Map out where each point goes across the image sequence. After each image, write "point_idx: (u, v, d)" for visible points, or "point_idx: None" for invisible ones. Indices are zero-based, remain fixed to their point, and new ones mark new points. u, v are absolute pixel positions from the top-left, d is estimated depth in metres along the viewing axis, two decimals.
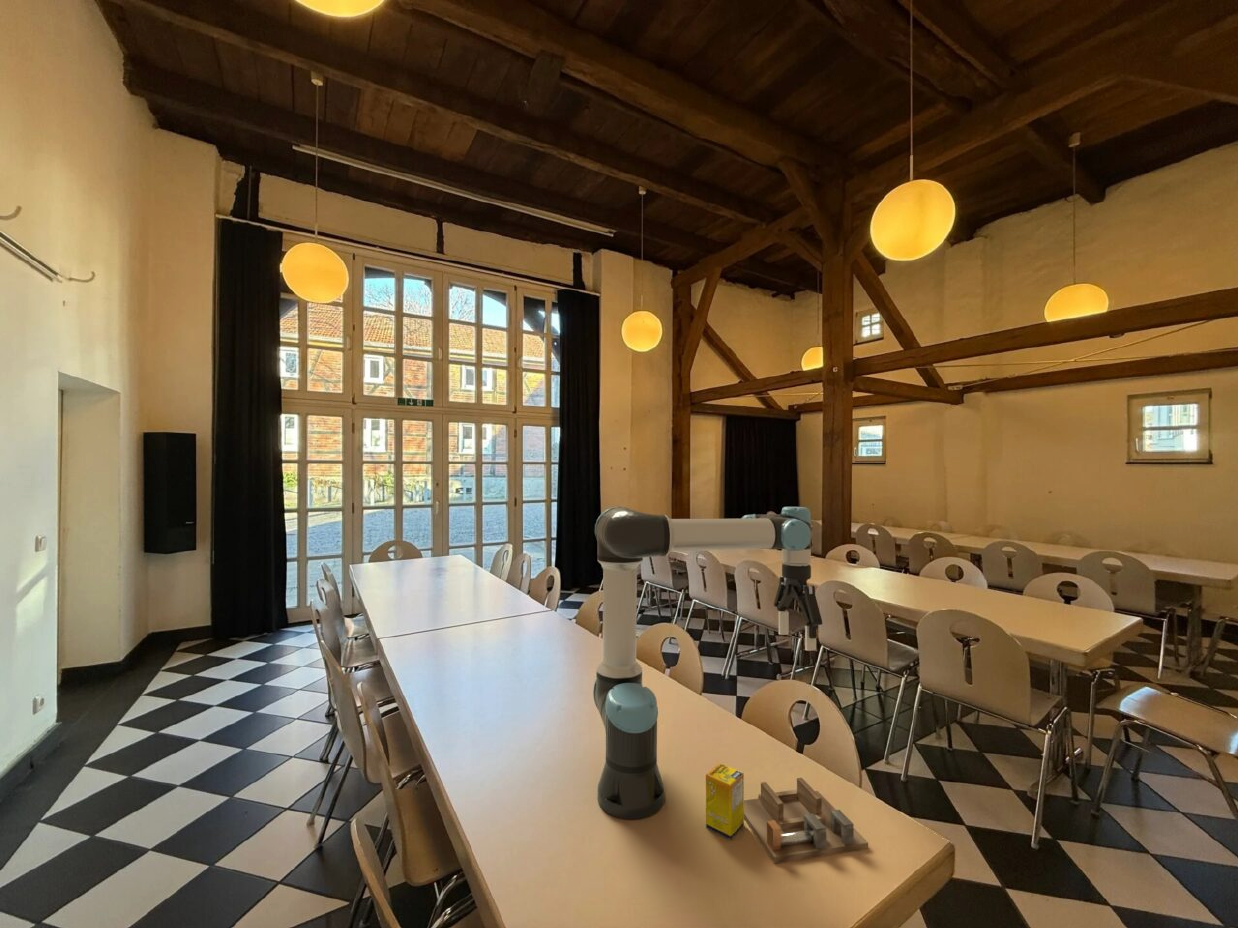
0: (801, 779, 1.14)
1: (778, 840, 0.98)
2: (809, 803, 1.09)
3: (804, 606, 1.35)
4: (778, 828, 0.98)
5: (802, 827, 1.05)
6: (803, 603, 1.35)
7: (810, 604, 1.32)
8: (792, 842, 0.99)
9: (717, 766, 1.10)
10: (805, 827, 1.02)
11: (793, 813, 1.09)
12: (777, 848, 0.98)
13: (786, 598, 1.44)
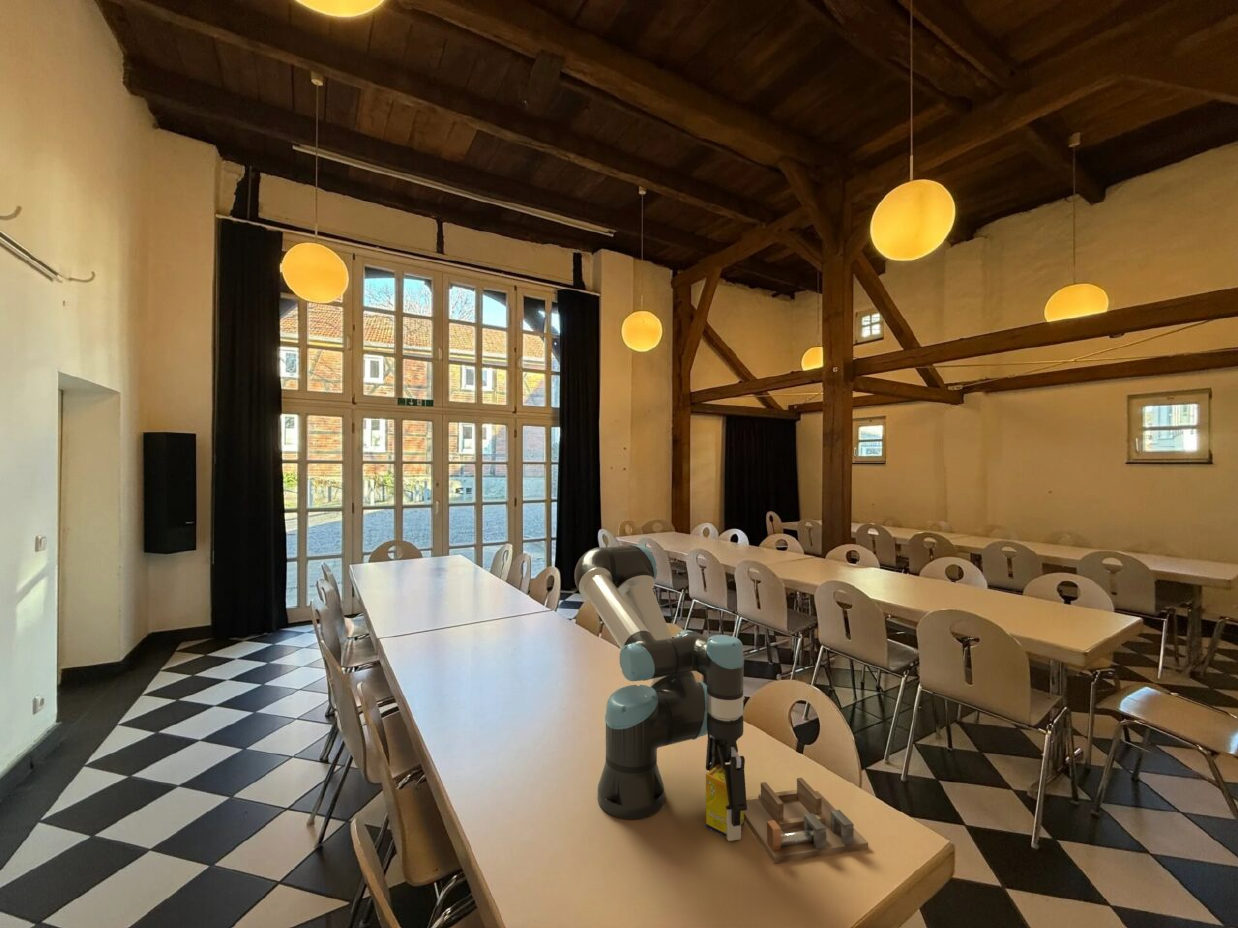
0: (801, 779, 1.14)
1: (778, 840, 0.98)
2: (809, 803, 1.09)
3: (729, 780, 1.03)
4: (778, 828, 0.98)
5: (802, 827, 1.05)
6: (728, 775, 1.03)
7: (735, 783, 1.00)
8: (792, 842, 0.99)
9: (717, 766, 1.10)
10: (805, 827, 1.02)
11: (793, 813, 1.09)
12: (777, 848, 0.98)
13: (716, 759, 1.09)
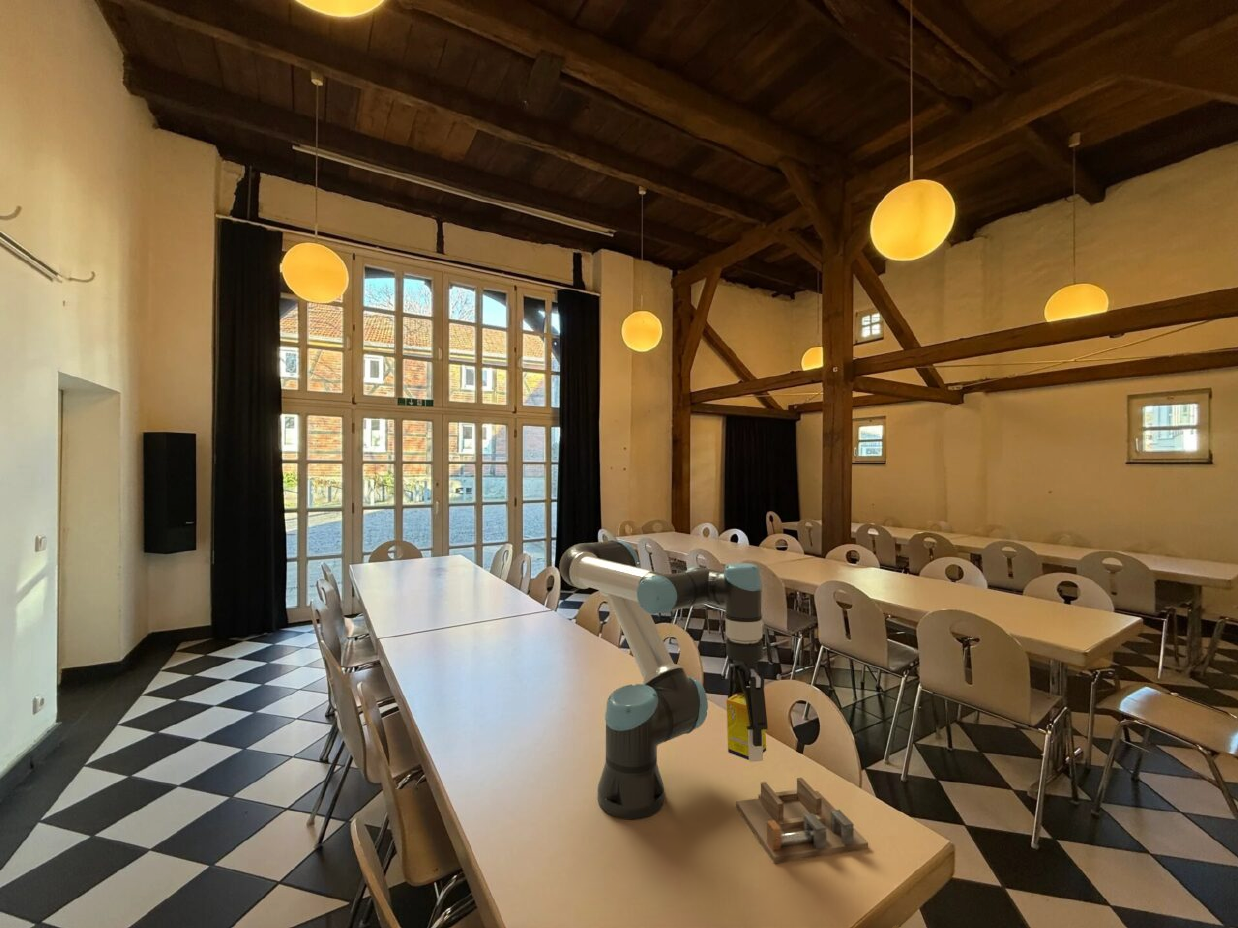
0: (801, 779, 1.14)
1: (778, 840, 0.98)
2: (809, 803, 1.09)
3: (749, 701, 1.03)
4: (778, 828, 0.98)
5: (802, 827, 1.05)
6: (749, 696, 1.04)
7: (755, 702, 1.01)
8: (792, 842, 0.99)
9: (738, 693, 1.10)
10: (805, 827, 1.02)
11: (793, 813, 1.09)
12: (777, 848, 0.98)
13: (737, 687, 1.10)
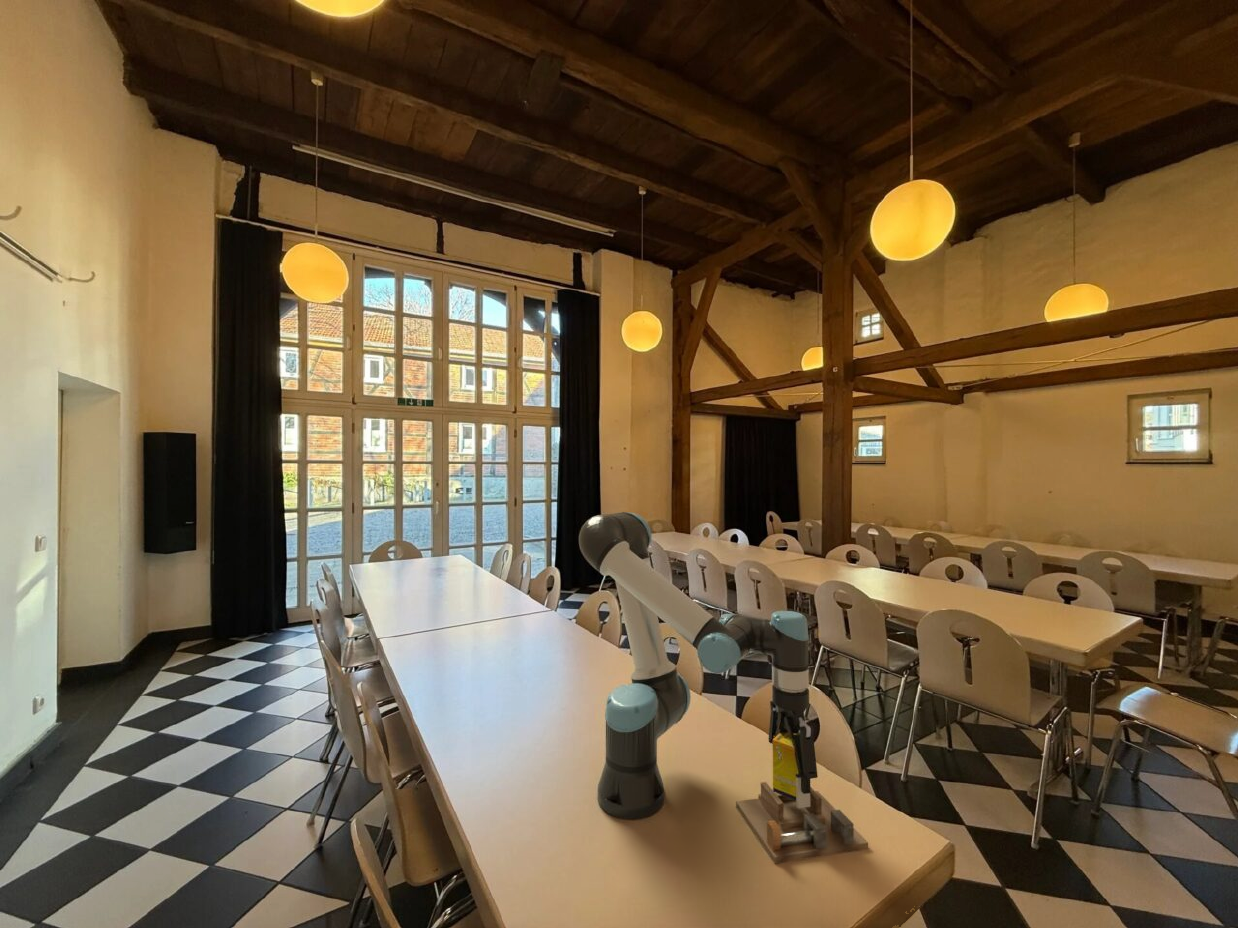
0: None
1: (778, 840, 0.98)
2: None
3: (797, 749, 1.06)
4: (778, 828, 0.98)
5: (802, 827, 1.05)
6: (797, 744, 1.06)
7: (805, 752, 1.03)
8: (792, 842, 0.99)
9: None
10: (805, 827, 1.02)
11: (793, 813, 1.09)
12: (777, 848, 0.98)
13: (781, 731, 1.13)
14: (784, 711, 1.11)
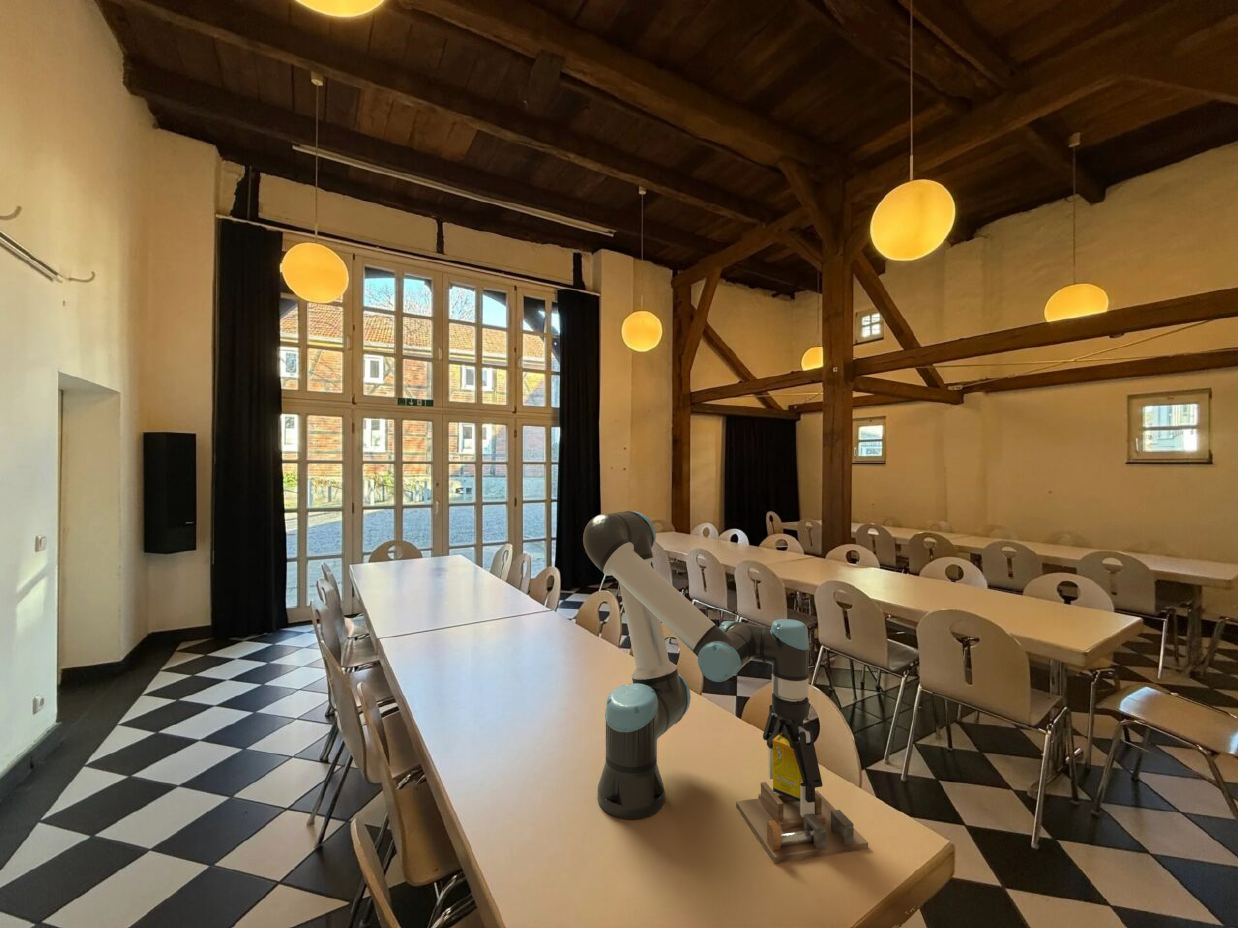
0: None
1: (778, 840, 0.98)
2: None
3: (799, 757, 1.05)
4: (778, 828, 0.98)
5: (802, 827, 1.05)
6: (798, 752, 1.05)
7: (807, 758, 1.02)
8: (792, 842, 0.99)
9: None
10: (805, 827, 1.02)
11: (793, 813, 1.09)
12: (777, 848, 0.98)
13: None
14: (783, 722, 1.11)
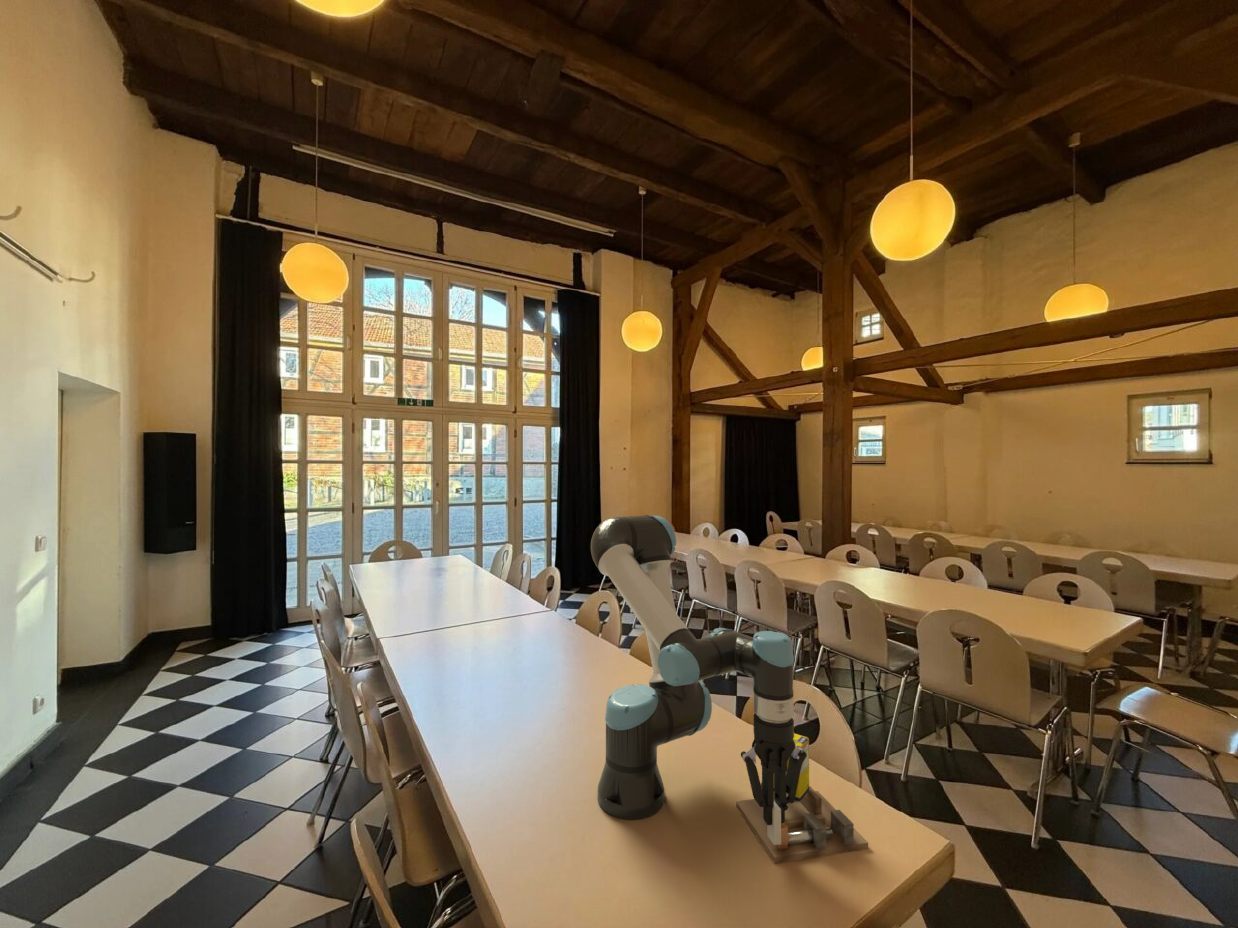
0: None
1: (785, 839, 0.98)
2: (809, 803, 1.09)
3: (762, 777, 1.00)
4: (785, 827, 0.99)
5: (802, 827, 1.05)
6: (762, 772, 1.00)
7: (749, 776, 0.99)
8: (799, 841, 0.99)
9: None
10: (805, 827, 1.02)
11: (793, 813, 1.09)
12: (784, 847, 0.98)
13: (775, 770, 1.00)
14: None
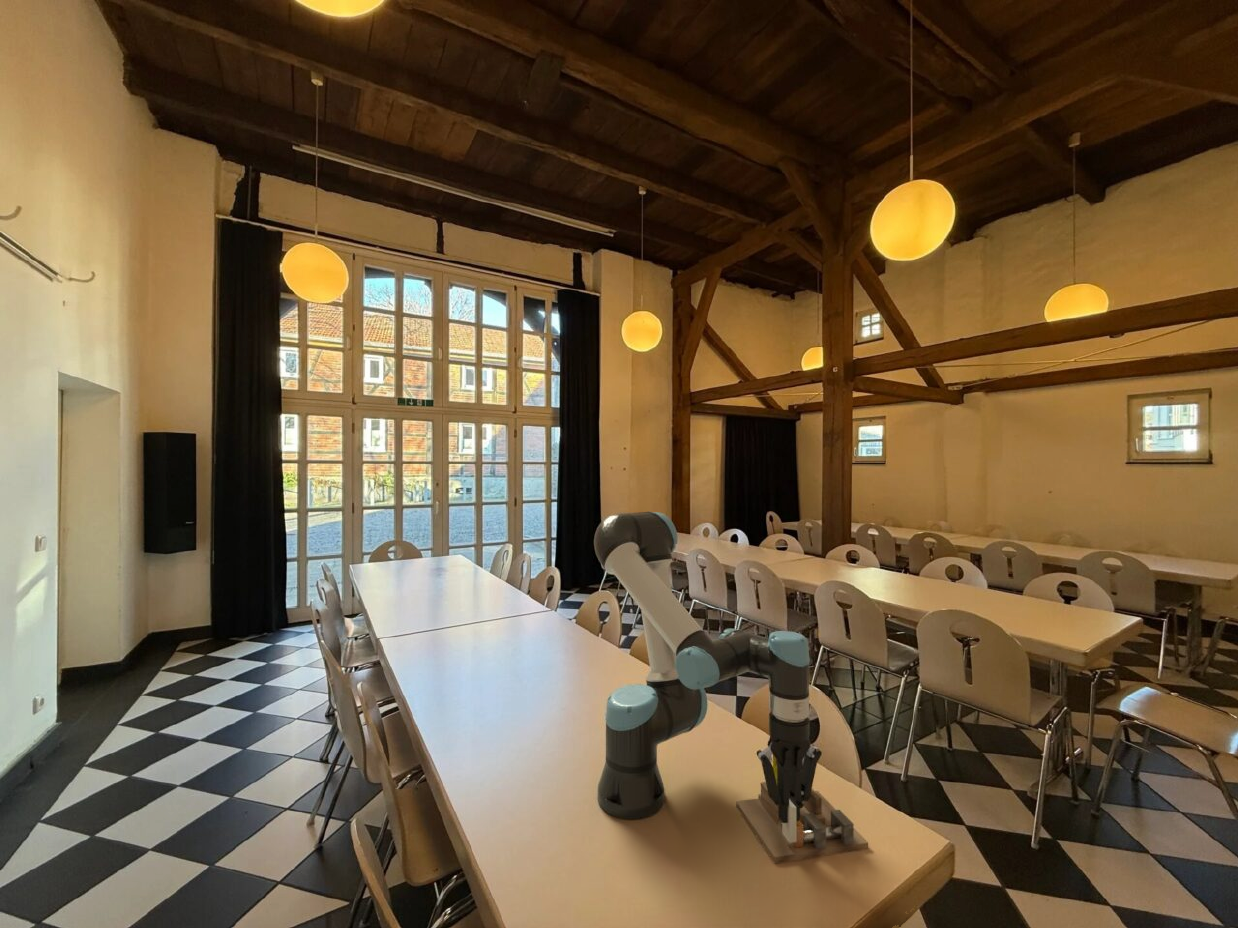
0: None
1: (801, 836, 0.99)
2: (809, 803, 1.09)
3: (778, 775, 1.01)
4: (801, 825, 0.99)
5: None
6: (778, 771, 1.01)
7: (764, 774, 1.00)
8: None
9: None
10: (805, 827, 1.02)
11: None
12: (800, 845, 0.99)
13: None
14: None
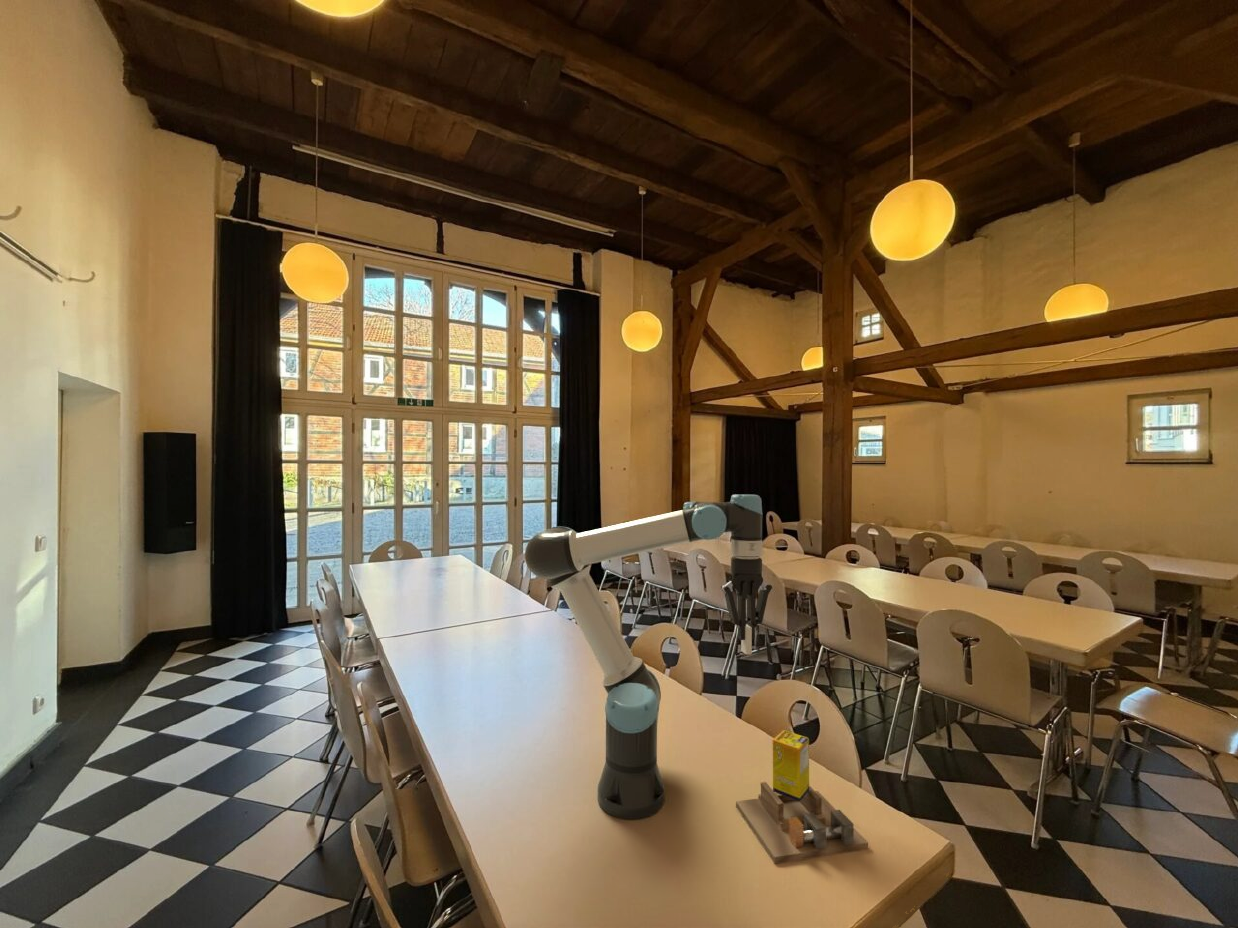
0: None
1: (801, 836, 0.99)
2: (809, 803, 1.09)
3: (737, 604, 1.28)
4: (801, 825, 0.99)
5: None
6: (738, 601, 1.28)
7: (727, 603, 1.27)
8: None
9: (782, 732, 1.13)
10: (805, 827, 1.02)
11: (793, 813, 1.09)
12: (800, 845, 0.99)
13: (747, 600, 1.28)
14: None
